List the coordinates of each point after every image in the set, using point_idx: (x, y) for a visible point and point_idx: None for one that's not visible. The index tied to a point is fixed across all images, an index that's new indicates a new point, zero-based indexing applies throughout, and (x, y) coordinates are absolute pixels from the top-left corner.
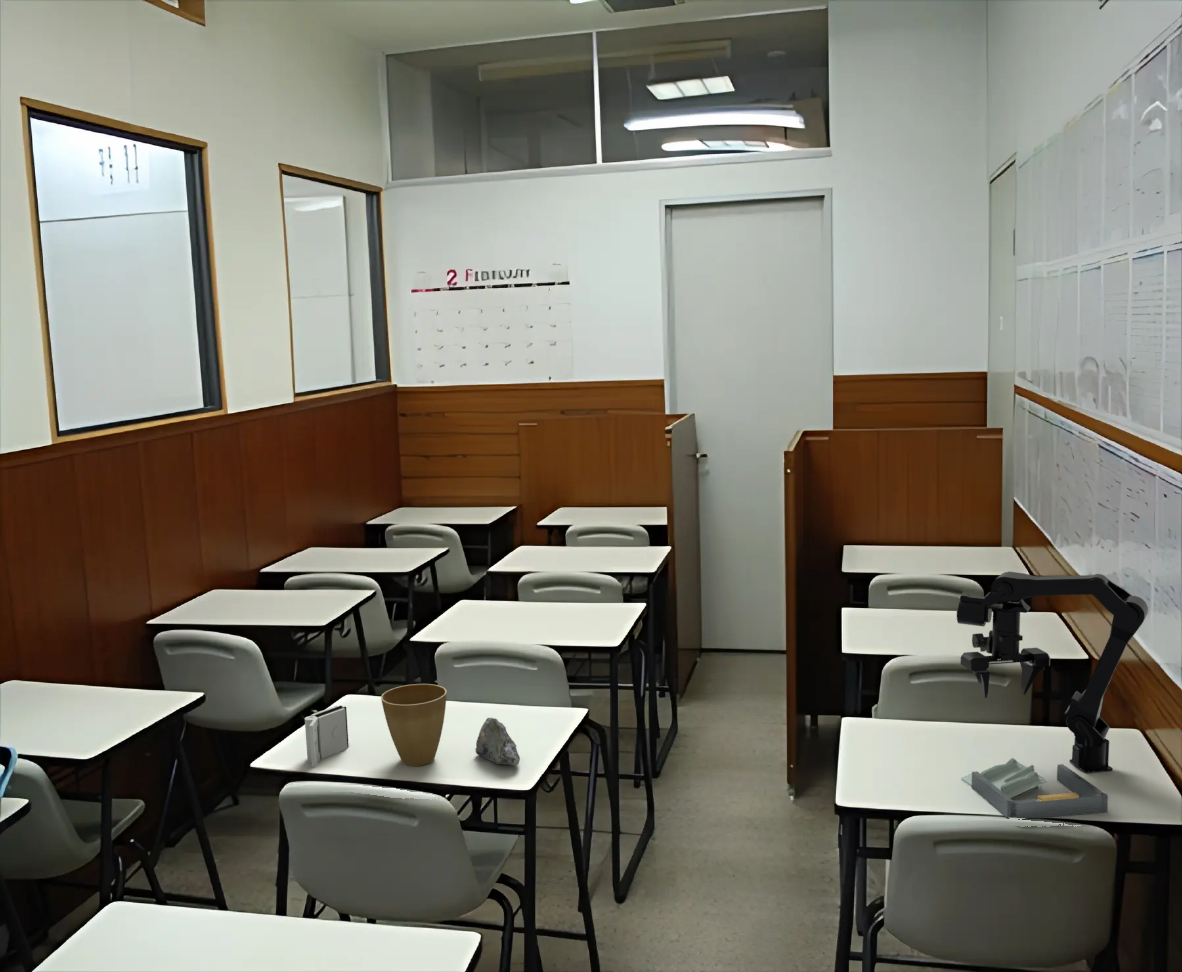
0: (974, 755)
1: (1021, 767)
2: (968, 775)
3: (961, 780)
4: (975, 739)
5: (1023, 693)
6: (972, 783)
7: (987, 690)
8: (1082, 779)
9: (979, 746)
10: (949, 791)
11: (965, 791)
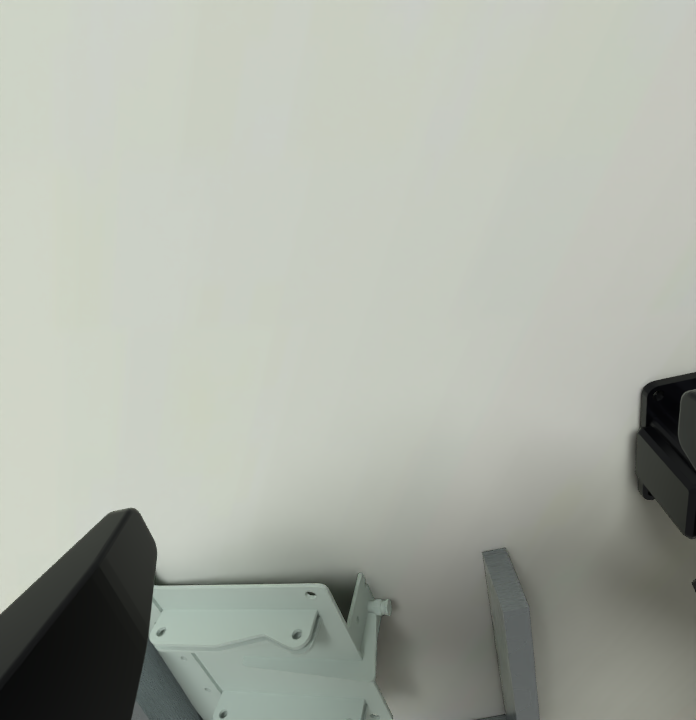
0: (174, 310)
1: (332, 633)
2: None
3: None
4: (219, 13)
5: (691, 453)
6: None
7: (125, 693)
8: (529, 708)
9: (226, 162)
10: None
11: None
